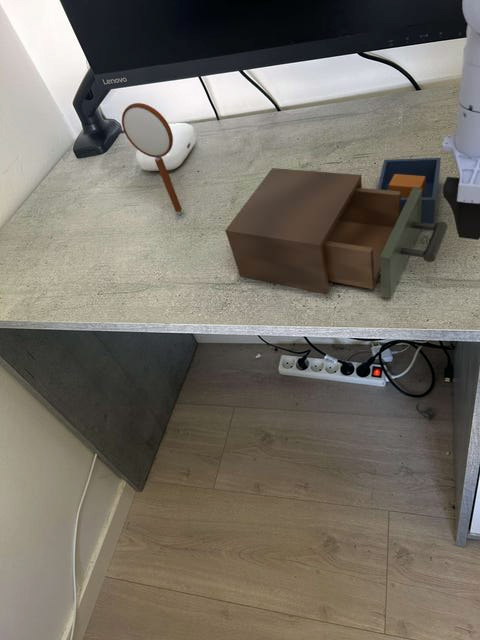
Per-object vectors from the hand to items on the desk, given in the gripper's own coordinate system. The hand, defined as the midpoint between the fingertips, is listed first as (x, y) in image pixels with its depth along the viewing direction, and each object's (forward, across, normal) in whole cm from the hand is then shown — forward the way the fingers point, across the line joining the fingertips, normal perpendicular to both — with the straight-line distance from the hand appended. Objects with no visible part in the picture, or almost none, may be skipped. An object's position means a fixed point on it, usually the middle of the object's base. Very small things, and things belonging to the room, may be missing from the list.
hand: (476, 217), depth 54 cm
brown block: (+9, -13, -11) cm, 19 cm away
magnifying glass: (+10, -4, -48) cm, 49 cm away
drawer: (+8, 0, -12) cm, 14 cm away
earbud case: (+10, -20, -61) cm, 65 cm away
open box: (+9, -13, -11) cm, 20 cm away
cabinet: (+9, 0, -22) cm, 24 cm away
